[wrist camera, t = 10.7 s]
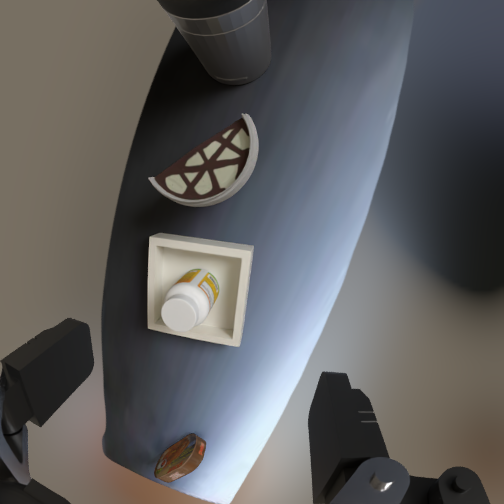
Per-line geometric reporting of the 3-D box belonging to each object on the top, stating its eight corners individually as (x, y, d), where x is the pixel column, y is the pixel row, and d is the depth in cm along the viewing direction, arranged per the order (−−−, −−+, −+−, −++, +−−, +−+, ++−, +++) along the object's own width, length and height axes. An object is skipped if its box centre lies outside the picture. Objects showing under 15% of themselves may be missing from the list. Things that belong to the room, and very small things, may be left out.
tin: (199, 426, 46) (188, 459, 38) (213, 435, 46) (203, 468, 38) (160, 452, 49) (147, 480, 41) (172, 460, 50) (160, 487, 41)
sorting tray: (160, 232, 39) (149, 236, 36) (254, 245, 38) (251, 251, 35) (157, 318, 42) (147, 328, 39) (242, 334, 41) (239, 346, 38)
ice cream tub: (200, 221, 38) (174, 232, 29) (176, 182, 38) (144, 181, 28) (281, 170, 36) (282, 163, 26) (255, 130, 35) (247, 110, 26)
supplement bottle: (177, 296, 40) (150, 326, 30) (188, 261, 39) (161, 284, 29) (213, 311, 40) (194, 346, 30) (225, 276, 39) (209, 304, 29)
